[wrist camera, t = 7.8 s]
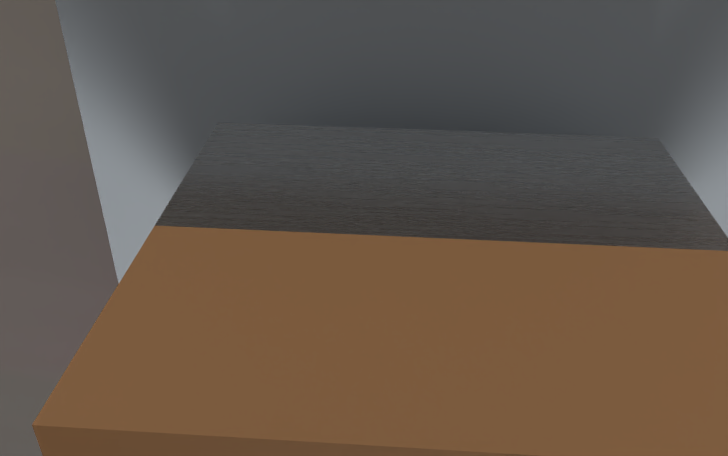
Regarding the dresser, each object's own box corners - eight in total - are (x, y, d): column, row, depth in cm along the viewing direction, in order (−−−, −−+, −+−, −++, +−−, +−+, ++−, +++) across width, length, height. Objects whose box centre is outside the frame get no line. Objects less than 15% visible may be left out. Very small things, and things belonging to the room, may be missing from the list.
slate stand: (776, -34, 10) (847, 0, 8) (629, 434, 15) (655, 512, 14) (109, -51, 11) (50, -21, 9) (189, 408, 16) (162, 481, 14)
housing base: (565, 499, 12) (595, 646, 10) (258, 480, 13) (225, 618, 10) (658, 137, 8) (737, 250, 6) (218, 122, 9) (154, 225, 7)
